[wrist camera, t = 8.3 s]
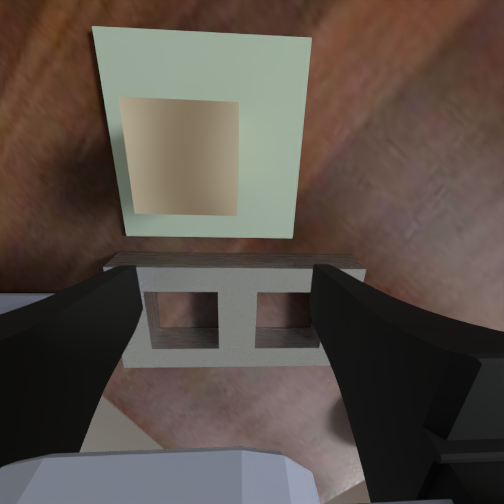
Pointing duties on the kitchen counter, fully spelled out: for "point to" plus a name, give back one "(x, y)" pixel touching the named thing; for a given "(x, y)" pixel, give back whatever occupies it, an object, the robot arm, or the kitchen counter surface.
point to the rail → (225, 308)
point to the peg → (182, 155)
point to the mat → (215, 89)
